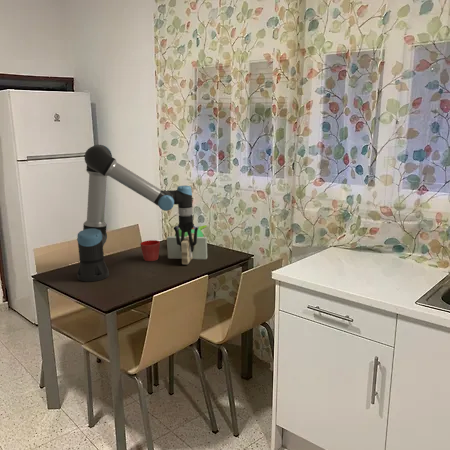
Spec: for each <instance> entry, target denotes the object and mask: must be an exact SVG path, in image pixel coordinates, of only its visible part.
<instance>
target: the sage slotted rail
mask: <svg viewBox="0 0 450 450" xmlns="http://www.w3.org/2000/svg"><path fill="white" fill-rule="evenodd" d="M185 238H186V237H184V239H185ZM180 242H181V237H180ZM166 245H167V246H166V247H167V259H177V260H178V259H180V260H182V252H181V246H180V245H177V241H176V236H175V235H174V236H173V235H172V236H170V235H168V236H167V237H166ZM193 249H194V250H193V252H192V256H193V258H192V259H191V260H207V259H208V238H207V236H204V237H197V244H196V245H194V247H193Z"/></svg>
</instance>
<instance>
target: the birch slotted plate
mask: <svg viewBox="0 0 450 450" xmlns="http://www.w3.org/2000/svg"><path fill="white" fill-rule="evenodd" d="M192 239H193V243H194V233H192ZM189 246H190V241H189V236H187V237H186V238H185V239H184V240H183V241H182V242H181V250H182V259H181V264H182V265H189V263H190V262H191V261H192V260H193V259H192V258H193V256H192V257H191V258H190V257H189ZM193 247H194V246H193Z"/></svg>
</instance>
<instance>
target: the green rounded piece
mask: <svg viewBox="0 0 450 450" xmlns="http://www.w3.org/2000/svg"><path fill="white" fill-rule="evenodd" d="M198 227H199V228H198V231H197V237H205V236H204V233H203V230H204V229H206V228H207V227H208V225H205V224H204V225H201V226H200V225H199V226H198ZM178 230H179V237H181V229H180V228H179V229H178ZM194 231H195V230H194V228H192V230H191V233H194ZM174 236H176V233H175V232H174ZM187 236H188V232H185V235H184V237H187Z"/></svg>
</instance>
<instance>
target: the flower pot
mask: <svg viewBox="0 0 450 450" xmlns="http://www.w3.org/2000/svg"><path fill="white" fill-rule="evenodd" d="M160 246H161V242H160V241H159V240H155V239H154V240H153V239H151V240H145V241H141V242H140V247H141V248H140V249H141V253H142V257H143V260H144V261H146V262H154V261H158V259H159V258H160V257H159V256H160Z"/></svg>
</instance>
